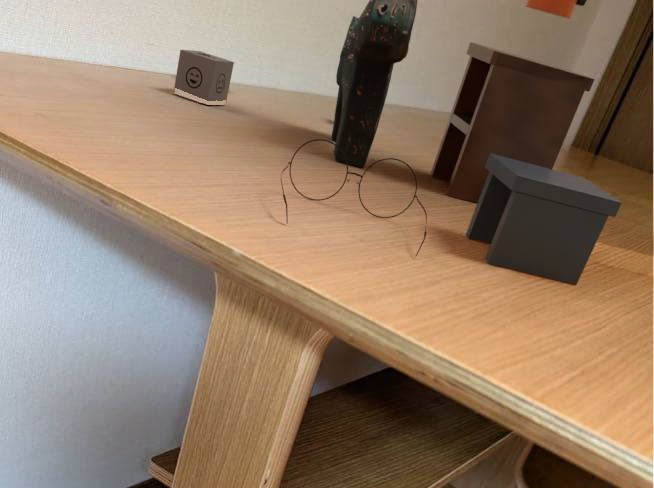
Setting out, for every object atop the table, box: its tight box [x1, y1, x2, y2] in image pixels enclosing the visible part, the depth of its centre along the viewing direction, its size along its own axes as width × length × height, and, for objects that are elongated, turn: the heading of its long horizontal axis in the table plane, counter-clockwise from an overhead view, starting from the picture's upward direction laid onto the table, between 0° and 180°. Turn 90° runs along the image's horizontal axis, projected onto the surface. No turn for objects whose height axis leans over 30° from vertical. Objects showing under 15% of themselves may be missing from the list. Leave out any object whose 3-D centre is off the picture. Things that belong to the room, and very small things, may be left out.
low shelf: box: [465, 153, 623, 286], centre depth 70 cm, size 9×9×7 cm
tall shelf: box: [429, 41, 595, 204], centre depth 91 cm, size 11×11×14 cm
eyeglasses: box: [280, 138, 428, 258], centre depth 67 cm, size 11×13×5 cm
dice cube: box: [173, 49, 235, 102], centre depth 103 cm, size 5×5×5 cm
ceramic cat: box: [330, 0, 418, 169], centre depth 92 cm, size 20×6×20 cm, turn 176°
